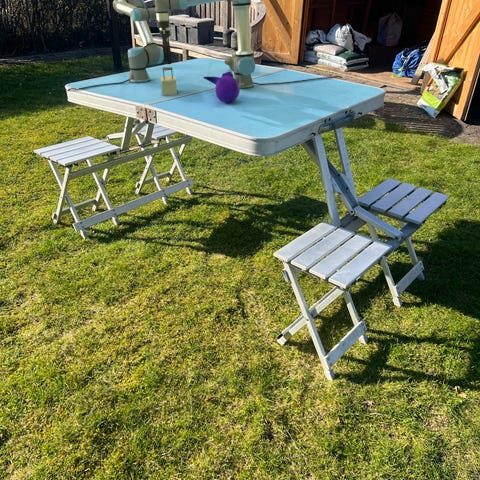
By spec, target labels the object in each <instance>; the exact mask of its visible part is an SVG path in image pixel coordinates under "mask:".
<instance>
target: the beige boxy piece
mask: <svg viewBox="0 0 480 480" xmlns="http://www.w3.org/2000/svg"><path fill="white" fill-rule="evenodd" d="M165 71H170V72H171V75H166V76H165ZM173 72H174V71H173V66H171V67H170V66H169V67H162V76H160V82H169V81H176V82H177V79H176V75H174V73H173Z"/></svg>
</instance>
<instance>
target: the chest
mask: <svg viewBox="0 0 480 480" xmlns="http://www.w3.org/2000/svg"><path fill="white" fill-rule="evenodd" d="M160 82H161V81H160ZM160 85H161V91H162V92H161V93H162V96H163V97H164V96H165V97H166V96H178V89H177V80H176V81H169V82H161V83H160Z"/></svg>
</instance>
